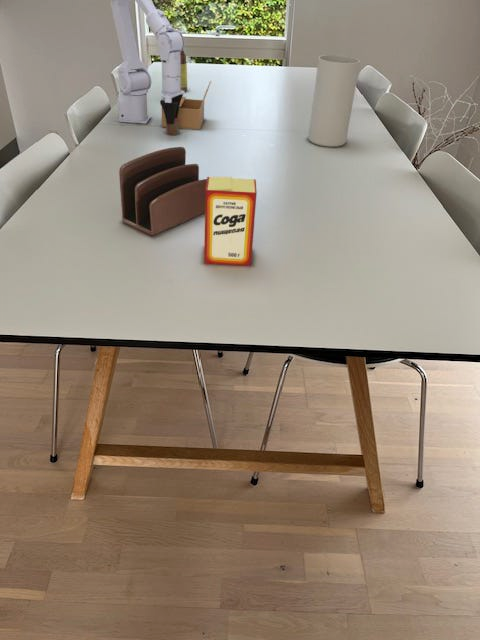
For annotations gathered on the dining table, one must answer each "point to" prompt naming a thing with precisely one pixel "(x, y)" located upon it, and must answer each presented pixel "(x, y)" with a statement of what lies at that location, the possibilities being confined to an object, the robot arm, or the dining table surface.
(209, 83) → the flap
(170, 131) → the spice jar
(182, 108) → the carton
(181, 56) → the sauce bottle
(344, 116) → the cylinder vase
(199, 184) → the letter holder
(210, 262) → the baking soda box
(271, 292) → the dining table surface
